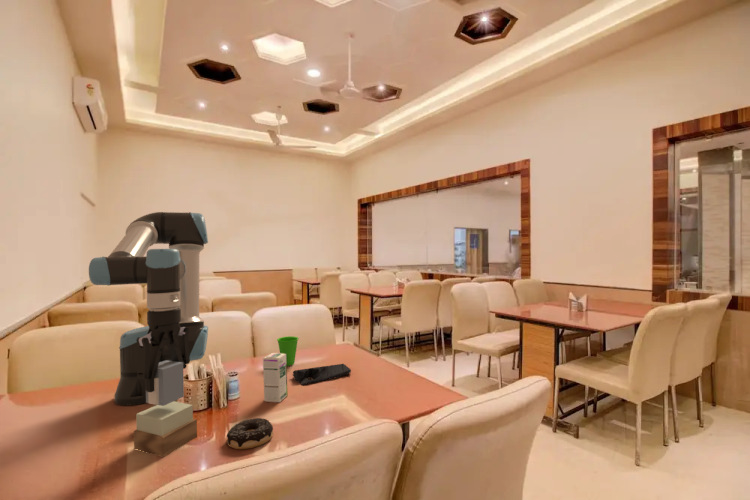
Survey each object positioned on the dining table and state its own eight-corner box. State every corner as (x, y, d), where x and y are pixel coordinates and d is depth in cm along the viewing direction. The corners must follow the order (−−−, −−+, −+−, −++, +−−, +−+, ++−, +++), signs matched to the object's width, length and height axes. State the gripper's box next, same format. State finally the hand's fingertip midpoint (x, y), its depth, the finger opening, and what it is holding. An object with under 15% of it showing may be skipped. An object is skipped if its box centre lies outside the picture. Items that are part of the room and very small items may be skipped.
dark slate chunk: (355, 377, 143) (355, 365, 143) (299, 387, 134) (298, 374, 134) (341, 366, 157) (341, 355, 157) (289, 375, 148) (289, 363, 148)
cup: (276, 362, 163) (276, 337, 163) (297, 360, 165) (297, 335, 165) (277, 368, 154) (277, 342, 154) (300, 366, 157) (299, 340, 157)
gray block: (145, 402, 94) (145, 367, 94) (166, 393, 99) (166, 360, 99) (163, 405, 92) (163, 369, 92) (183, 396, 97) (183, 362, 97)
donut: (281, 438, 97) (281, 423, 97) (239, 457, 89) (239, 441, 89) (259, 425, 105) (258, 411, 105) (218, 442, 96) (217, 426, 96)
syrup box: (280, 402, 120) (279, 357, 120) (263, 401, 121) (262, 357, 121) (287, 395, 125) (287, 352, 125) (271, 394, 126) (270, 352, 126)
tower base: (134, 450, 93) (133, 431, 93) (168, 432, 102) (168, 414, 102) (163, 458, 89) (163, 437, 89) (196, 438, 98) (196, 419, 98)
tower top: (136, 429, 93) (136, 413, 93) (168, 414, 101) (168, 400, 101) (161, 436, 90) (161, 419, 90) (192, 420, 98) (192, 405, 98)
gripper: (139, 315, 85) (141, 416, 85) (204, 303, 103) (205, 387, 103) (117, 314, 88) (118, 411, 88) (183, 302, 106) (185, 384, 106)
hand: (165, 398), depth 95 cm, fingers closed on gray block, 6 cm apart
